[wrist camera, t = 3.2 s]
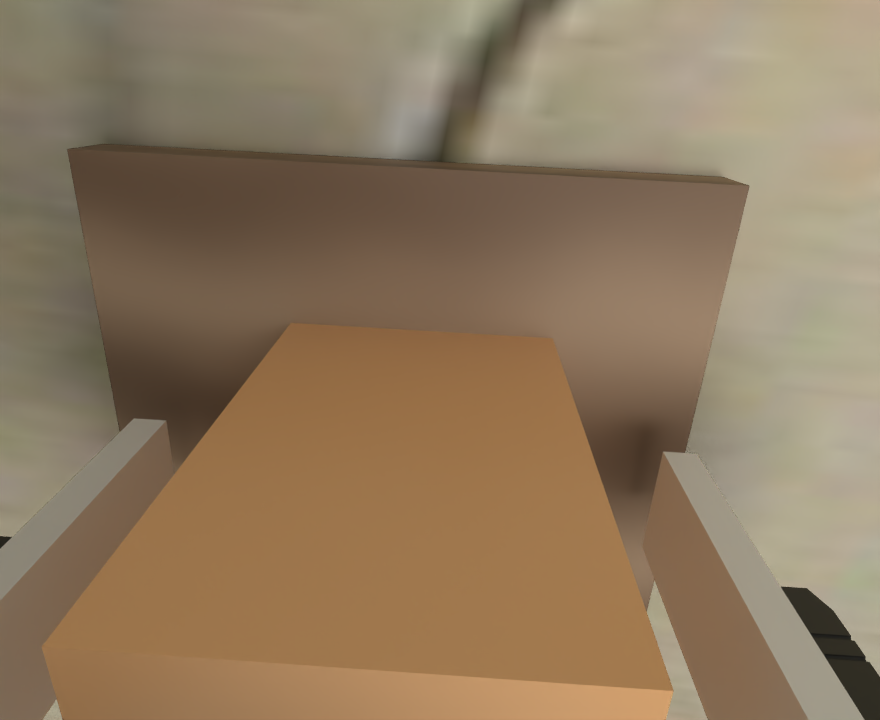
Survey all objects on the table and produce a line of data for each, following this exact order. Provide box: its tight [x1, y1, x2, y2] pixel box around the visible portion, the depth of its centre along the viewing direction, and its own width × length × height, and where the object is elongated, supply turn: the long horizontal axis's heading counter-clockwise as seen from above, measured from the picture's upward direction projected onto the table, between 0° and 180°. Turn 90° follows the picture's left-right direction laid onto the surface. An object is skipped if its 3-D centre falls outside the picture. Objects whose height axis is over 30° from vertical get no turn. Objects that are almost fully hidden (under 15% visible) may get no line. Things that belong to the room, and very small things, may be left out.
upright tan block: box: [42, 323, 674, 720], centre depth 12 cm, size 6×6×10 cm
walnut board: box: [67, 144, 749, 612], centre depth 19 cm, size 26×15×2 cm, turn 177°
